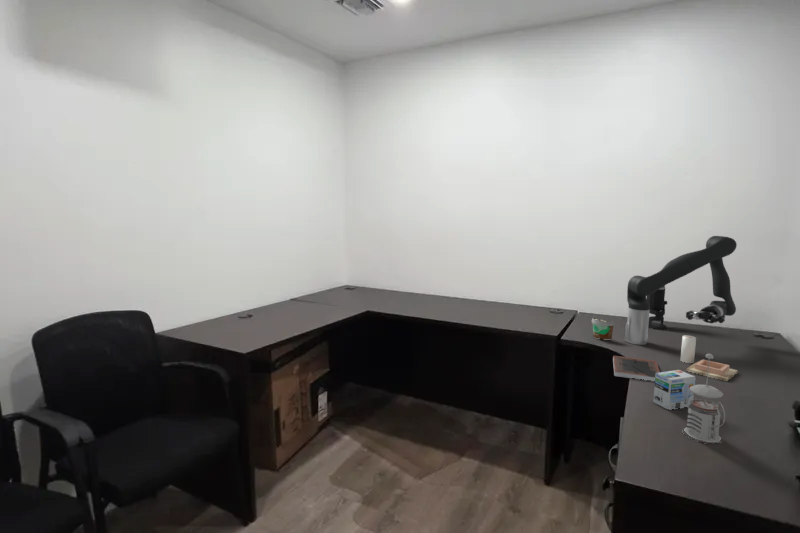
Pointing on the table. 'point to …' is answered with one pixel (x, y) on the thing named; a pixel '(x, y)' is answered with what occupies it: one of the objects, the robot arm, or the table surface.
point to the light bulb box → (673, 389)
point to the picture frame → (635, 368)
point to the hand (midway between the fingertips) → (700, 319)
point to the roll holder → (712, 370)
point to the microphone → (657, 308)
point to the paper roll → (688, 349)
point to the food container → (602, 328)
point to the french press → (704, 427)
